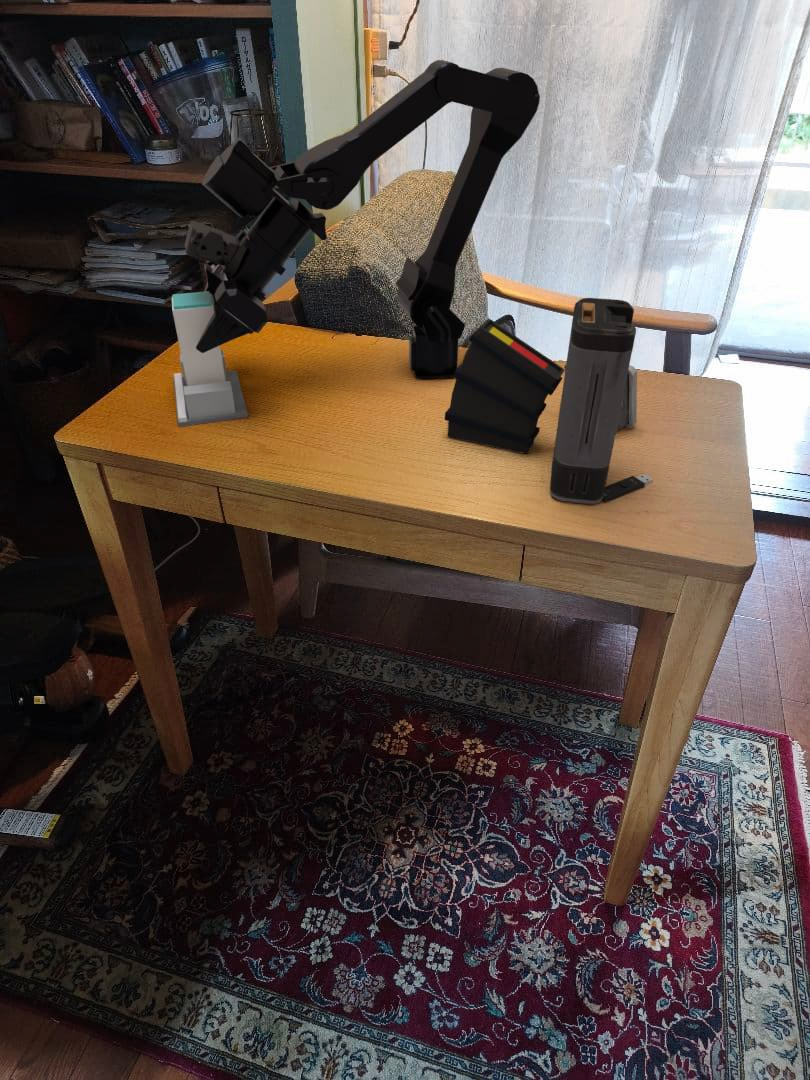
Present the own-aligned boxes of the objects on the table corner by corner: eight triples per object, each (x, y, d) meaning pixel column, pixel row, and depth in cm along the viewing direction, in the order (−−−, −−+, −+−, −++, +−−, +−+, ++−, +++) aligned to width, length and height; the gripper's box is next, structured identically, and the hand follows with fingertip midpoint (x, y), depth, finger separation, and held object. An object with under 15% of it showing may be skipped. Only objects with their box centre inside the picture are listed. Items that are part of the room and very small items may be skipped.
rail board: (236, 374, 108) (232, 347, 106) (248, 417, 97) (243, 389, 95) (174, 381, 106) (168, 354, 104) (178, 426, 95) (172, 398, 93)
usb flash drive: (641, 477, 86) (643, 470, 86) (654, 485, 85) (655, 478, 84) (591, 497, 83) (593, 489, 82) (604, 505, 82) (605, 498, 81)
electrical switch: (636, 428, 95) (646, 363, 89) (610, 443, 93) (618, 378, 87) (581, 402, 101) (587, 339, 95) (555, 416, 99) (559, 353, 93)
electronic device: (603, 507, 81) (638, 333, 69) (548, 501, 82) (573, 328, 70) (602, 464, 88) (633, 299, 76) (552, 458, 89) (575, 295, 77)
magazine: (433, 409, 96) (487, 315, 85) (516, 466, 95) (581, 378, 85) (422, 421, 93) (476, 326, 83) (507, 480, 93) (573, 391, 82)
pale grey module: (225, 384, 104) (210, 290, 96) (228, 400, 100) (212, 303, 92) (189, 389, 103) (171, 294, 95) (191, 405, 99) (171, 307, 91)
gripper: (210, 180, 94) (141, 275, 99) (224, 216, 80) (142, 325, 84) (278, 238, 101) (210, 325, 105) (302, 282, 87) (222, 380, 91)
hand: (196, 337), depth 96 cm, fingers open, 9 cm apart
